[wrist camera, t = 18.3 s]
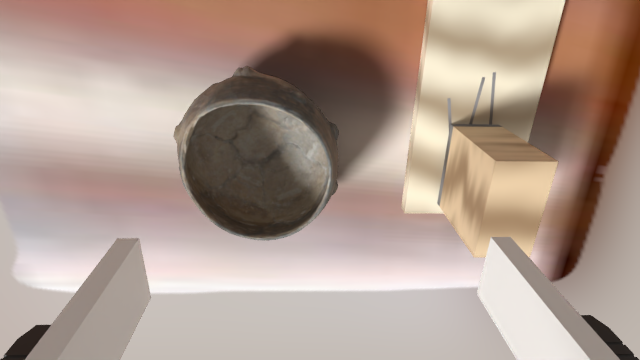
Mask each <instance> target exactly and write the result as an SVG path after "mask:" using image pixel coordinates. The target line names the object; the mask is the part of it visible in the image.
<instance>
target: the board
mask: <svg viewBox="0 0 640 360" xmlns="http://www.w3.org/2000/svg"><path fill="white" fill-rule="evenodd" d="M564 4H565V0H428V4H427V12H426V19H425V27H424V35H423V43H422V51H421V58H420V66H419V74H418V82H417V89H416V97H415V105H414V113H413V121H412V128H411V136H410V144H409V152H408V159H407V167H406V175H405V183H404V190H403V198H402V206H401V207H402V209H403V211H404V213H444V212H443V211H442V210H441V208H440V207H439V205H438V204H437V201H438V195H439V189H440V184H441V178H442V172H443V166H444V160H445V154H446V148H447V142H448V136H449V130H450V124H490V125H500V126H502V127H504V128H505V129H507V130H508V131H510V132H512V133H513V134H515V135H516V136H518V137H520V138H521V139H523V140H525V141H526V142H528V141H529V137H530V133H531V129H532V126H533V122H534V118H535V114H536V110H537V106H538V103H539V99H540V95H541V91H542V87H543V84H544V80H545V76H546V72H547V68H548V65H549V61H550V57H551V53H552V49H553V46H554V42H555V38H556V34H557V30H558V26H559V23H560V19H561V15H562V11H563V7H564Z"/></svg>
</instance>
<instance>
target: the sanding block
mask: <svg viewBox="0 0 640 360" xmlns="http://www.w3.org/2000/svg"><path fill="white" fill-rule="evenodd" d="M557 165H558V161H557V160H555V159H554V158H552V157H550V156H549V155H547V154H545V153H544V152H542V151H541V150H539V149H537V148H536V147H534V146H533V145H531V144H529V143H528V142H526V141H525V140H523V139H521V138H520V137H518V136H516V135H515V134H513V133H512V132H510V131H508V130H507V129H505V128H504V127H502V126H500V125H490V124H450V130H449V136H448V142H447V148H446V154H445V160H444V166H443V172H442V178H441V184H440V189H439V195H438V201H437V204H438V205H439V207H440V208H441V210H442V211H443V212H444V214H445V215H446V217H447V218H448V220H449V221H450V223H451V224H452V226H453V227H454V229H455V230H456V232H457V233H458V235H459V236H460V237H461V239H462V240H463V242H464V243H465V245H466V246H467V248H468V249H469V251H470V252H471V254H472V255H473V257H486V255H487V251H488V247H489V243H490V239H491V237H511V238H512V239H513V240H514V241H515V243H516V244H517V245H518V246H519V247H520V248H521V249H522V250H523V252H524V253H525V254H526V255H527V256H528V257H530V255H531V251H532V248H533V245H534V241H535V238H536V235H537V231H538V228H539V225H540V222H541V218H542V215H543V212H544V208H545V205H546V202H547V198H548V195H549V192H550V188H551V185H552V182H553V178H554V175H555V172H556V168H557Z"/></svg>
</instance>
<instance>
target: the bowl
mask: <svg viewBox="0 0 640 360" xmlns="http://www.w3.org/2000/svg"><path fill="white" fill-rule="evenodd" d="M338 135H339V131H338V129H337V127H336V125H334V124H332V123H330V122H328V121H327V120H326V118H325V116H324V115H323V113H322V112H321V111H320V109H319V108H318V107H317V106H316V105H315V104H314V103H313V102H312V101H311V100H310V99H309V98H307V97H306V96H305V95H304V94H303V93H302V92H301V91H300V90H299V89H298V88H296V87H295V86H293V85H292V84H290V83H288V82H287V81H284V80H282V79H280V78H278V77H274V76H270V75H266V74H262V73H259V72H257V71H256V70H254V69H252V68H250V67H248V66H246V67H244V68H238V69H237V70H236V71H235V73H234V75H233V76H232V77H231V78H228V79H226V80H224V81H222V82H220V83H215V84H213V85H211V86H210V87H209V88H208V89H207V90H206V91H204V92H203V93H202V94H201V95H199V96H198V97H197V98H196V99H195V100H194V102H193V103H192V104H191V106H190V107H189V109H188V110H187V112H186V113H185V115H184V117H183V119H182V121H181V122H180V124H179V125H178V126H176V128H175V132H174V138H175V140H176V142H177V151H178V160H179V170H180V175H181V178H182V182H183V185H184V187H185V189H186V191H187V192H188V194H189V196H190V198H191V199H192V200H193V202H194V203H195V204H196V206H197V207H198V208H199V210H200V211H201V212H202V213H203V214H204V215H205V216H206V217H207V218H208V219H209V220H210V221H211V222H213V223H214V224H215V225H217V226H218V227H220V228H221V229H223V230H225V231H227V232H228V233H231V234H234V235H237V236H240V237H243V238H248V239H254V240H276V239H280V238H284V237H287V236H290V235H293V234H294V233H296V232H298V231H300V230H302V229H303V228H304V227H305V226H307V225H308V224H309V223H311V222H312V221H313V220H314V219H315V218H316V217H317V216H318V215H319V214H320V212H321V211H322V210H323V208H324V207H325V206H326V204H327V203H328V201H329V199H330V197H331V195H333V194H334V193H335V192H336V190H337V187H338V184H337V180H336V179H337V173H338V150H337V143H336V140H337V137H338Z"/></svg>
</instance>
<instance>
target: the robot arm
mask: <svg viewBox="0 0 640 360" xmlns="http://www.w3.org/2000/svg"><path fill="white" fill-rule="evenodd" d="M477 295H478V296H479V298H480V300H481V301H482V303H483V305H484V306H485V308H486V310H487V311H488V313H489V314H490V316H491V318H492V319H493V321H494V323H495V324H496V326H497V328H498V329H499V331H500V333H501V334H502V336H503V338H504V339H505V341H506V343H507V344H508V346H509V348H510V349H511V351H512V352H513V354H514V356H515V357H516V359H517V360H639V359H638V358H637V357H634V354H633V353H632V352H631V351H630V350H629V348H628V347H627V346H626V345H623V344H622V341H621V340H620V339H619V338H618V337H617V336H616V335H615V334H614V333H613V332H612V331H611V329H609V327H607V326H606V325H604V324H603V323H601V322H600V321H598V320H597V319H595V318H594V317H593V316H591V315H580V314H579V313H578V312H577V311H576V310H575V309H574V308H573V306H572V305H571V304H570V303H569V302H568V301H567V300H566V299H565V298H564V296H563V295H562V294H561V293H560V292H559V291H558V290H557V288H556V287H555V286H554V285H553V284H552V283H551V282H550V281H549V280H548V278H547V277H546V276H545V275H544V274H543V273H542V272H541V271H540V269H539V268H538V267H537V266H536V265H535V264H534V263H533V262H532V260H531V259H530V258H529V257H528V256H527V255H526V254H525V253H524V252H523V250H522V249H521V248H520V247H519V246H518V245H517V244H516V243H515V241H514V240H513V239H512V238H511V237H491V239H490V243H489V247H488V251H487V255H486V259H485V263H484V267H483V271H482V275H481V279H480V283H479V287H478V291H477ZM150 299H151V296H150V291H149V286H148V281H147V276H146V270H145V265H144V260H143V255H142V250H141V245H140V240H139V238H131V239H117V240H116V241H115V242H114V244H113V245H112V246H111V248H110V249H109V250H108V252H107V253H106V254H105V256H104V257H103V258H102V259H101V261H100V262H99V263H98V265H97V266H96V267H95V269H94V270H93V271H92V273H91V274H90V275H89V276H88V278H87V279H86V280H85V282H84V283H83V284H82V286H81V287H80V288H79V290H78V291H77V292H76V293H75V295H74V296H73V297H72V299H71V300H70V301H69V303H68V304H67V305H66V306H65V308H64V309H63V310H62V312H61V313H60V314H59V316H58V317H57V318H56V320H55V321H54V322H53V324H52V325H36V326H35V327H33V328H32V329H31V330H30V331H28V332H27V333H25V334H24V335H23V336H21V337H20V338H19V339H17V340H16V342H15V343H14V344H13V345H12V346H11V348H10V349H9V350H8V351H7V353H6V354H5V355H4V358H3V359H1V360H120V358H121V357H122V355H123V353H124V351H125V349H126V346H127V345H128V343H129V341H130V339H131V337H132V335H133V333H134V331H135V328H136V327H137V324H138V322H139V320H140V319H141V317H142V314H143V313H144V311H145V309H146V307H147V305H148V302H149V300H150Z"/></svg>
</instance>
